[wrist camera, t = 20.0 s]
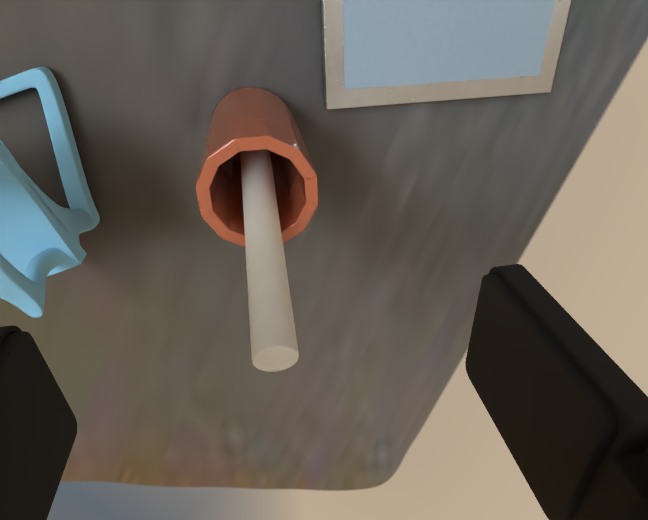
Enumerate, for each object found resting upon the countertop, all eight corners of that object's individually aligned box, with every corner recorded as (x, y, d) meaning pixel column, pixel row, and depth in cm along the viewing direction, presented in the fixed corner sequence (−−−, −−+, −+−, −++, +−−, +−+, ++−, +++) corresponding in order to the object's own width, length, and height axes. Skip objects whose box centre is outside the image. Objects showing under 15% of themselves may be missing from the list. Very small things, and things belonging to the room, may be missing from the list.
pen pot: (203, 89, 23) (185, 142, 16) (291, 83, 24) (315, 131, 16) (218, 173, 26) (208, 253, 18) (297, 166, 26) (320, 241, 19)
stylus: (236, 103, 23) (249, 350, 13) (263, 101, 23) (297, 343, 13) (239, 128, 24) (254, 375, 14) (265, 126, 24) (299, 368, 14)
